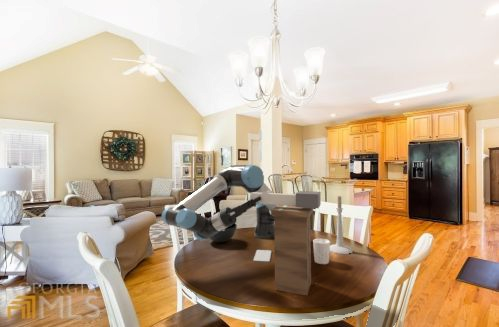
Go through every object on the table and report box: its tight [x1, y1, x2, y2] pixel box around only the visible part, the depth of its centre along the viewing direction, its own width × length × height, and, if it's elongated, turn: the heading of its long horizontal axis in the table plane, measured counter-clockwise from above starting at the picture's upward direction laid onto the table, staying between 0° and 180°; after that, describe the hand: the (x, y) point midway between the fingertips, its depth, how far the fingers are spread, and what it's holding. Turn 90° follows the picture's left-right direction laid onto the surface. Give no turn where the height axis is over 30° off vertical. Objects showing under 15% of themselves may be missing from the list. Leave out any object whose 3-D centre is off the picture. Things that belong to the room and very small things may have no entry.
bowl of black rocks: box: [209, 211, 238, 243], centre depth 151 cm, size 20×20×19 cm
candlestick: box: [330, 195, 354, 255], centre depth 134 cm, size 13×13×30 cm
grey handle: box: [249, 190, 322, 209], centre depth 96 cm, size 9×27×5 cm, turn 69°
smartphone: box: [252, 249, 273, 263], centre depth 126 cm, size 8×1×15 cm
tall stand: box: [271, 205, 314, 296], centre depth 94 cm, size 12×14×30 cm
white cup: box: [312, 238, 331, 265], centre depth 118 cm, size 8×8×10 cm
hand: (269, 193), depth 98 cm, fingers closed on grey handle, 3 cm apart
